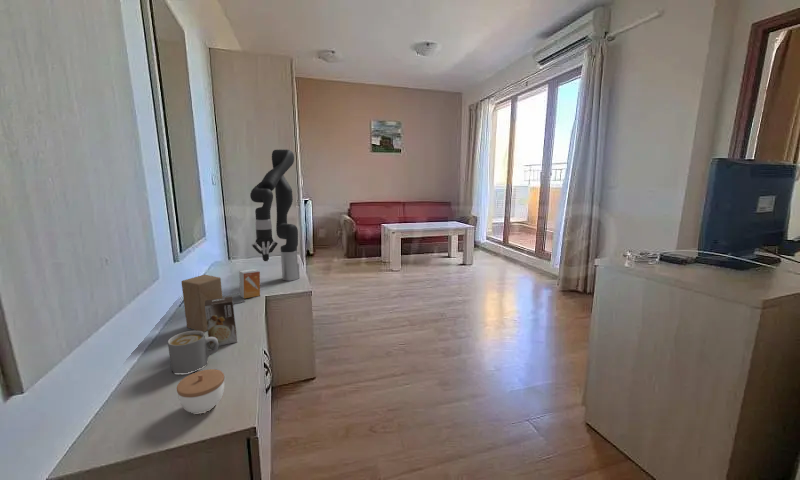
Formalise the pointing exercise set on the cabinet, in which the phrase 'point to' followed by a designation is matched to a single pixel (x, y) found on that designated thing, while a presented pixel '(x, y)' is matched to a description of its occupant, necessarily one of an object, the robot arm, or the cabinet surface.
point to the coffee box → (221, 320)
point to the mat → (235, 298)
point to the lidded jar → (201, 390)
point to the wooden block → (199, 299)
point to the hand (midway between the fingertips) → (265, 260)
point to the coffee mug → (190, 351)
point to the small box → (249, 283)
